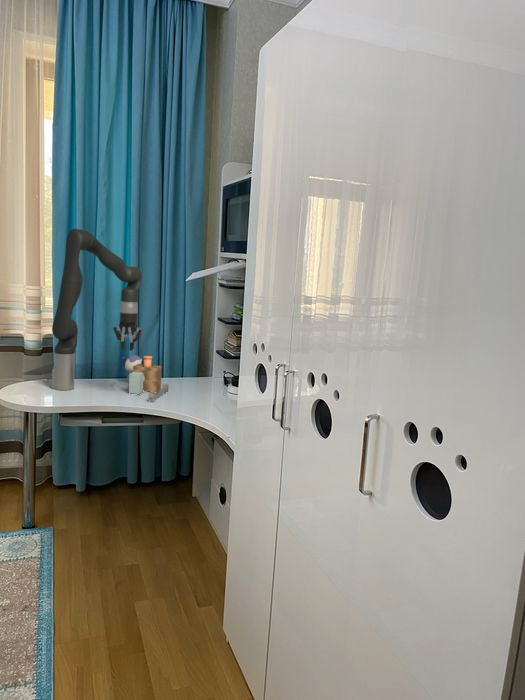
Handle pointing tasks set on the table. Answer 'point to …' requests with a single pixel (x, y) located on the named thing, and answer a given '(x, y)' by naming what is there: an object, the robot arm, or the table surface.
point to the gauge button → (147, 361)
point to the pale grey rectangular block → (136, 383)
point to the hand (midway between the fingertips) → (127, 349)
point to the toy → (132, 363)
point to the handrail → (158, 393)
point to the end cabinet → (150, 377)
